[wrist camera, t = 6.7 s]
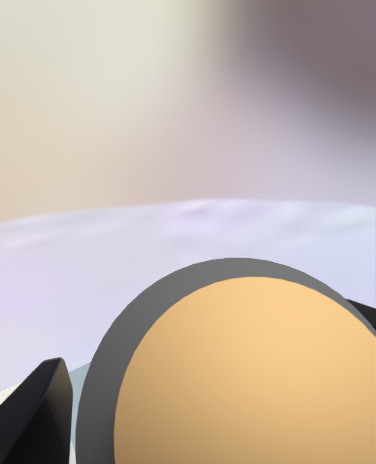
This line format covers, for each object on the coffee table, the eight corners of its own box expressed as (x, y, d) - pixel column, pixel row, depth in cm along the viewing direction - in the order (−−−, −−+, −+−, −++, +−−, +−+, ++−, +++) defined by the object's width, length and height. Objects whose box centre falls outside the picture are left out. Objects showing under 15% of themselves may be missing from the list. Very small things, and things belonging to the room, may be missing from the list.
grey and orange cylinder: (264, 429, 15) (601, 549, 3) (175, 480, 14) (156, 931, 2) (218, 338, 16) (322, 178, 4) (136, 380, 15) (-5, 320, 4)
